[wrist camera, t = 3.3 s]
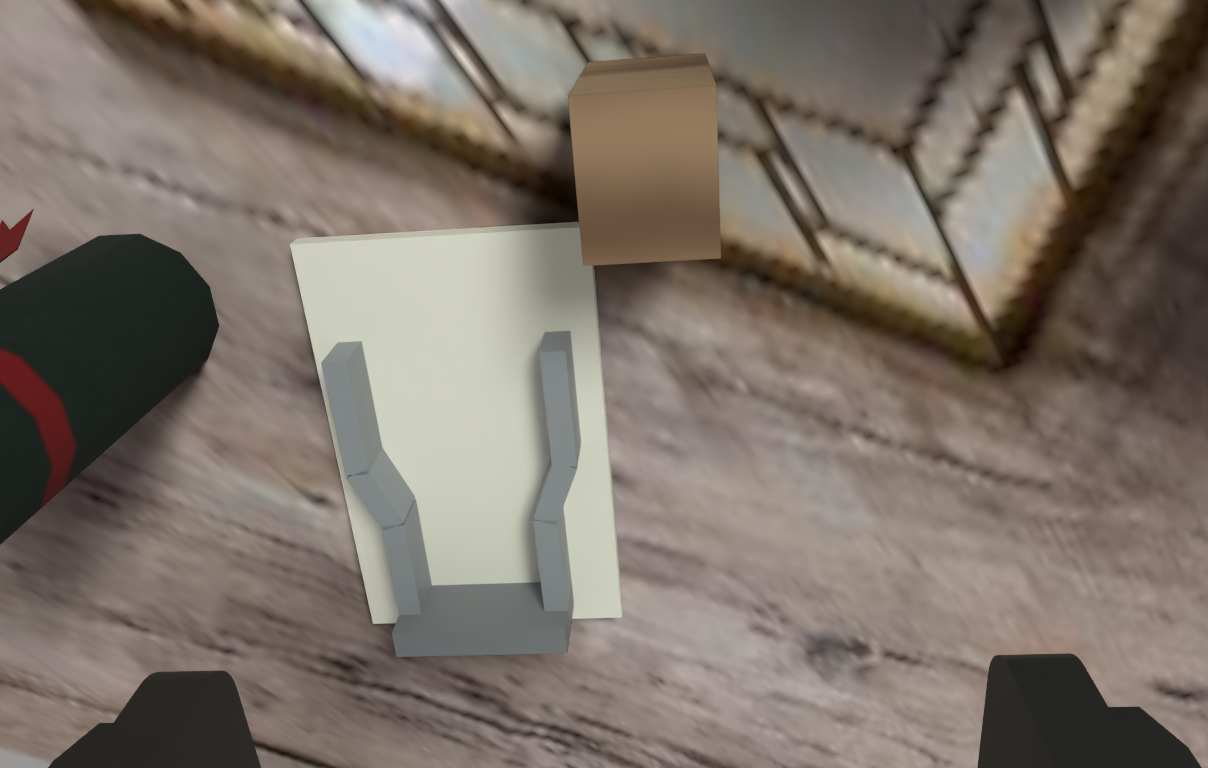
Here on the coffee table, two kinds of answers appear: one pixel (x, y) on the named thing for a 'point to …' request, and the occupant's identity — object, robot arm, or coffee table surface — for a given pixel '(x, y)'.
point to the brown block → (646, 160)
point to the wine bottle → (89, 357)
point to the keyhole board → (468, 431)
